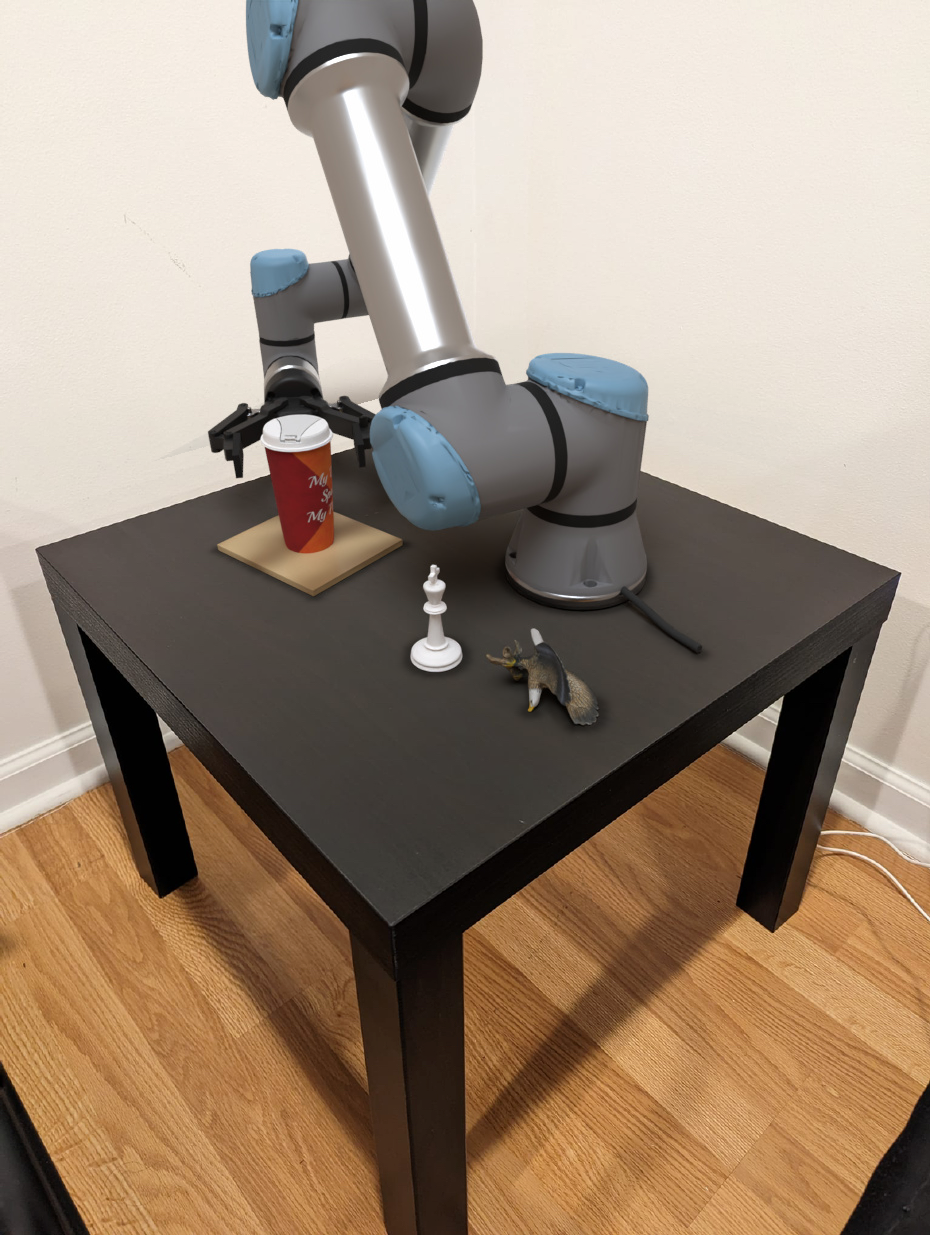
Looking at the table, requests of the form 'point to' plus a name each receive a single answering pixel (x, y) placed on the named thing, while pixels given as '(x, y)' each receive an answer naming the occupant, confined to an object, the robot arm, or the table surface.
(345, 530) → the birch board
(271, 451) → the paper cup
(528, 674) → the eagle figurine
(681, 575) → the table surface
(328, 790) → the table surface
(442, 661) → the chess piece
